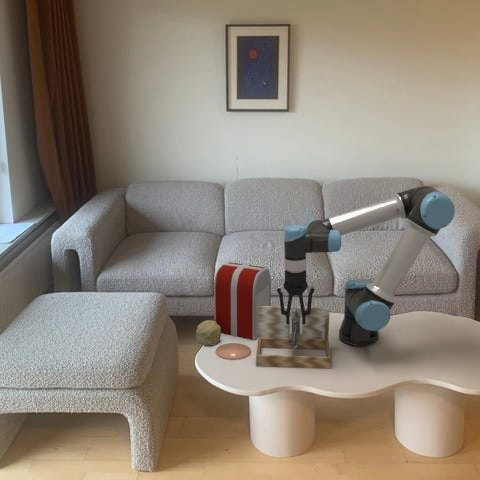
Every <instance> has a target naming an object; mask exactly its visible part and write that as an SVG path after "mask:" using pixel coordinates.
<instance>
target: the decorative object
mask: <svg viewBox="0 0 480 480" xmlns="http://www.w3.org/2000/svg"><path fill="white" fill-rule="evenodd" d="M221 335H222V333H221V328H220V326H219V325H218V324H217V323H216V322H215V321H214V320H210V319H209V320H204V321H202V322H200V323H199V324H198V325H197V328H196V331H195V341H196V342H197V344H199V345H202V346H215V345H216V344H218V343H219V342H220V340H221Z"/></svg>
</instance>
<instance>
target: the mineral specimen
mask: <svg viewBox="0 0 480 480" xmlns="http://www.w3.org/2000/svg"><path fill="white" fill-rule="evenodd" d="M295 307H296V308H295V309H293V308H292V309H291V310H290V314H292V334H290V324H288V338H289V339H290V340H289V344H292V343H293V345H294V349H293V350H297V349H296V348H297V347H298V337H299V332H300V314H301V310H300V309H298V308H297V307H298V306H295Z"/></svg>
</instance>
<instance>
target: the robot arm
mask: <svg viewBox="0 0 480 480" xmlns="http://www.w3.org/2000/svg"><path fill="white" fill-rule="evenodd" d="M455 209H456V208H455V205H454V202H453V201H452V199H451V198H450V197H449V196H448V195H447V194H445V193H444V192H441V191H440V190H438V189H436V188H434V187H432V186H427V185H420V186H417V187H413V188H409V189H406V190H403V191H400V192H397V193H395V194H394V195H393V197H391V198H387V199H383V200H381V201H378V202H375V203H372V204H368V205H365V206H362V207H359V208H357V209H353V210H349V211H346V212H344V213H341V214H338V215H333V216H330V217H327V218H324V219H321V220H320V219H316V218H315V219H311V220H310V221H309V222H307V224H306V226H304V225H302V224H292V225H287V226H286V227H285V228H284V238H283V241H284V243H283V246H284V247H283V249H284V250H283V251H284V283H283V285H281V286H277V287H276V292H277V293H278V297H279V307H281V314H282V315H286V324H290V334H292V314H290V310H291V307H292V301H293V297H294V296H297V297H298V299H299V300H298V301H299V305H300V307H301V312H302V314H300V334H302V324H305V316H306V315H310V313H311V308H312V303H313V294H314V292H315V286H313V285H312V286H311V285H308V283H307V282H308V281H307V270H306V269H307V254H314V253H315V254H317V253H330V254H331V253H333V252H336V253H337V252H339V251H340V250H341V248H342V236H343V235H347V234H350V233H353V232H357V231H359V230H363V229H366V228H370V227H373V226H376V225H380V224H382V223H385V222H389V221H392V220H395V219H398V218H401V219H403V220H405V219H406V223H407V225H406V227H405V229H404V231H403V232H402V234H401V236H400V237H399V239H398V241H397V242H396V244H395V245H394V247H393V248H392V250H391V252H390V254H389V255H388V257H387V259H386V260H385V262H384V264H383V265H382V266H381V268H380V270H379V272H378V273H377V275H376V277H375V279H374V280H371V279H366V278H356V279H355V278H354V279H350V280H347V281H346V283H345V287H344V291H345V292H344V309H343V310H344V312H343V313H344V315H343V319H342V321H341V325H340V327H339V329H338V339H339V340H340V341H341V342H343V343H345V344H349V345H353V346H360V347H361V346H363V347H364V346H370V345H374V344H376V343H378V341H379V338H380V335H379V334H380V333H379V330H382V329H383V328H385V327H386V326H387V325H388V324H389V323H390V320H391V310H392V308H393V306H394V304H395V303H396V299H395V294H396V293H397V291H398V290H399V288H400V286H401V285H402V283H403V282H404V280H405V278H406V276H407V274H408V273H409V272H410V271H411V269H412V267H413V265H414V264H415V262H416V261H417V259H418V257H419V255H420V254H421V252H422V251H423V250H424V247H425V245H427V242H428V241H429V240H430V239H431V238H432V237H437V235H438V233H439V232H440V231H441V229H443V228H446V227H447V226H450V224H451V222H452V221H453V220H454V218H455V213H456V210H455ZM284 290H285V291H286V293H287V294H288V299H287V304H286V305H287V306H286V307H287V311H286V310H284V307H285V302H284V294H283V293H284ZM306 290H307V293H308V294H307V295H308V296H307V305H306V306H307V310H306V311H305V304H304V303H305V301H304V296H303V295H304V293H305V291H306Z"/></svg>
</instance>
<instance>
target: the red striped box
mask: <svg viewBox="0 0 480 480" xmlns="http://www.w3.org/2000/svg"><path fill="white" fill-rule="evenodd" d="M271 278H272V277H271V272H270V269H269V268H268V267H265V266H258V265H252V264H249V263H248V264H247V263H244V264H243V263H238V262H229V261H228V262H225V263H223V264H222V265H221V266H220V267H218V268H217V270H216V272H215V275H214V281H213V300H214V301H213V302H214V303H213V306H214V307H213V308H214V309H213V313H214V317H213V319H214V320H213V321H215V322H216V323H217V324H218V325H219V326H220V328H221V335H226V336H231V337H234V338H235V337H236V338H241V339H244V340H250V341H256V340H258V337H259V306H271V307H272V305H271V304H272V303H271V297H272V296H271V295H272V292H271V291H272V289H271V288H272V284H271V283H272V279H271Z"/></svg>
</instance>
